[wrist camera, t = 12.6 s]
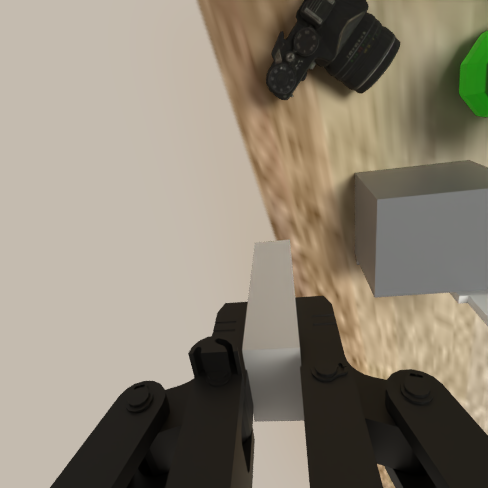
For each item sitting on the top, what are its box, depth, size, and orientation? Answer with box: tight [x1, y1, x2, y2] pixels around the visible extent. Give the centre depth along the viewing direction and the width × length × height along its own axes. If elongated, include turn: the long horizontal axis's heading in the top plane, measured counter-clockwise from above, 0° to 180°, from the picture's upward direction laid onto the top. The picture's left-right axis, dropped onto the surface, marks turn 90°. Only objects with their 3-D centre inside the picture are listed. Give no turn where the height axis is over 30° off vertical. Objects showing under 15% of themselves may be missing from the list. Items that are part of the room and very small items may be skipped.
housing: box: [355, 160, 488, 297], centre depth 42 cm, size 13×16×11 cm
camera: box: [266, 0, 400, 100], centre depth 35 cm, size 14×11×10 cm
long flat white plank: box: [449, 290, 488, 326], centre depth 40 cm, size 1×5×18 cm, turn 98°
